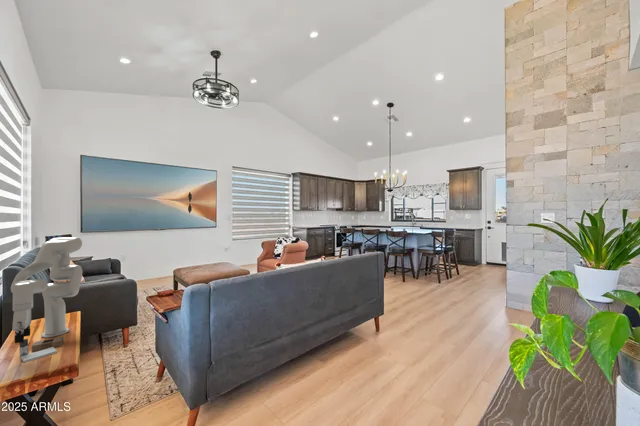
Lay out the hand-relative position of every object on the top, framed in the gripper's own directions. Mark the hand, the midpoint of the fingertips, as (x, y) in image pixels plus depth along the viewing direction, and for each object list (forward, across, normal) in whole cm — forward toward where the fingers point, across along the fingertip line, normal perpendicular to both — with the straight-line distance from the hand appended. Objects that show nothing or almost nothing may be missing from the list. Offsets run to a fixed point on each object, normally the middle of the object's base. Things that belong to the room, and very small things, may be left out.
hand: (22, 339), depth 149 cm
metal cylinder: (+9, -1, 0) cm, 9 cm away
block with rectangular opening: (+9, -8, +8) cm, 14 cm away
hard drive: (+10, +3, +7) cm, 12 cm away
